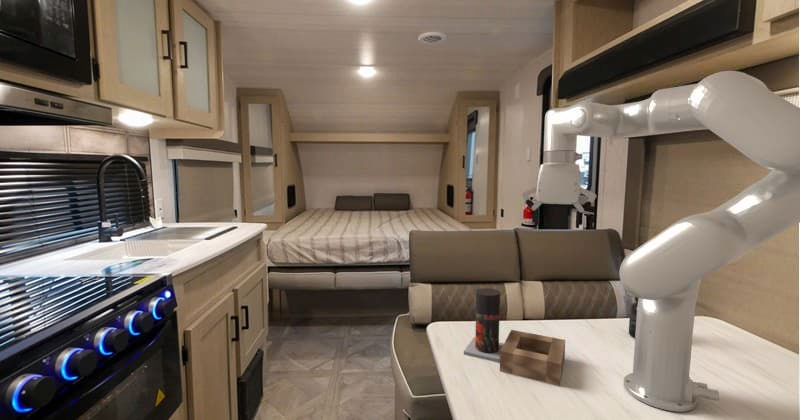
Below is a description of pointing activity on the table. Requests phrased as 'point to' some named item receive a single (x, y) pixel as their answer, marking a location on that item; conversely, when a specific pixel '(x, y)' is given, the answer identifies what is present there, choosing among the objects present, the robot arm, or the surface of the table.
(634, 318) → the supplement bottle
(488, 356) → the rubber mat
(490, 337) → the deodorant
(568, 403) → the table surface
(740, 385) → the table surface
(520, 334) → the socket block
